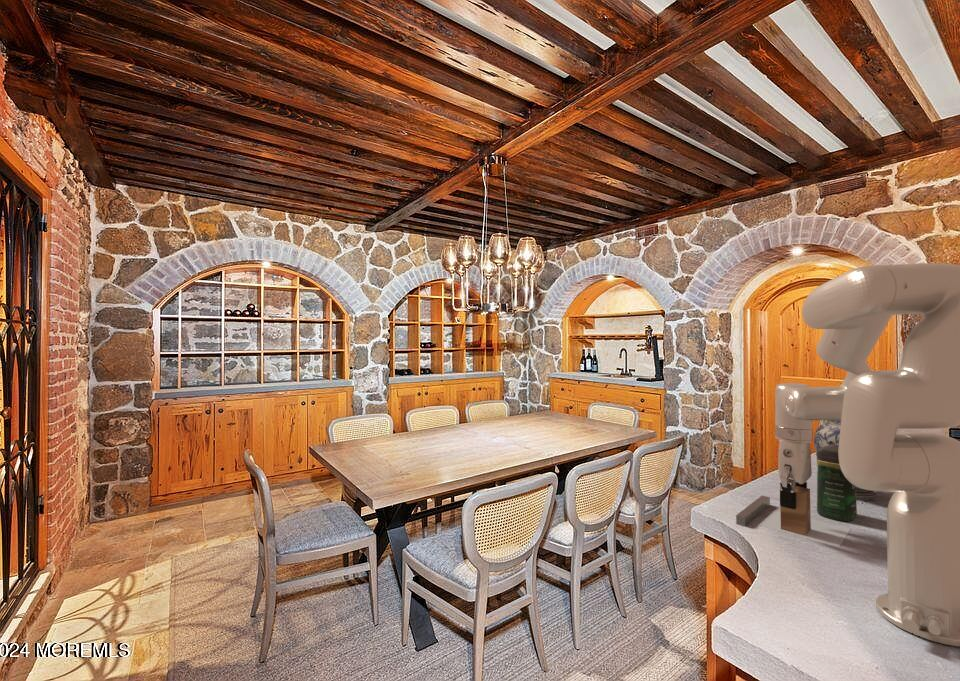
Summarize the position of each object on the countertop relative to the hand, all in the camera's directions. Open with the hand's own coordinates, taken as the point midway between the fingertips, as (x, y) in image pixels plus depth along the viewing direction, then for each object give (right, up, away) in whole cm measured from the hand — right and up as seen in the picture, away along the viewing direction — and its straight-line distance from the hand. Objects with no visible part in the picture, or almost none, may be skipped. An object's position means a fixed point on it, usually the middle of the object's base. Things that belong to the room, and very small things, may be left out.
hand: (793, 501), depth 108 cm
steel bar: (-4, -7, +9) cm, 12 cm away
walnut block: (0, -7, -1) cm, 7 cm away
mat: (+3, -7, +1) cm, 7 cm away
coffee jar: (+17, -7, +7) cm, 20 cm away
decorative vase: (+34, -6, +23) cm, 41 cm away
